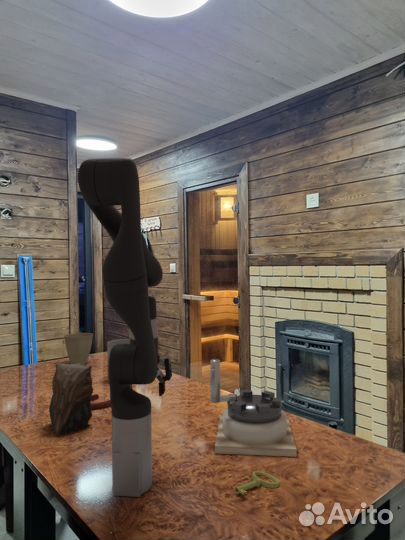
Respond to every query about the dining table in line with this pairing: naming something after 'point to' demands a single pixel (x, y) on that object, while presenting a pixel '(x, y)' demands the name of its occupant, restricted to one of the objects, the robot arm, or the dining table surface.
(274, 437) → the cap housing
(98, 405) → the pliers
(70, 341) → the plant pot
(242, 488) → the key
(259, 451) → the base board
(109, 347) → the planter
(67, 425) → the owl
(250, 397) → the cap with crank handle
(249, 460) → the dining table surface
